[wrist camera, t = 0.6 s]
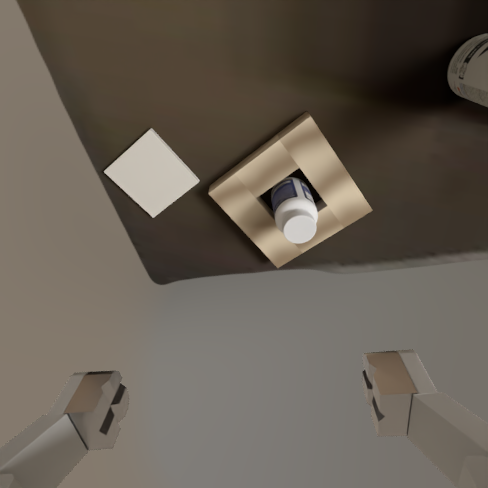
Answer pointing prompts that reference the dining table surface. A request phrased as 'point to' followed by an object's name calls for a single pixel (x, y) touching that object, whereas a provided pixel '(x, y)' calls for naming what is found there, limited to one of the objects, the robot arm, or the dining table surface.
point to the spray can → (470, 70)
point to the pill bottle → (294, 210)
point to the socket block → (276, 169)
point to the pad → (151, 173)
